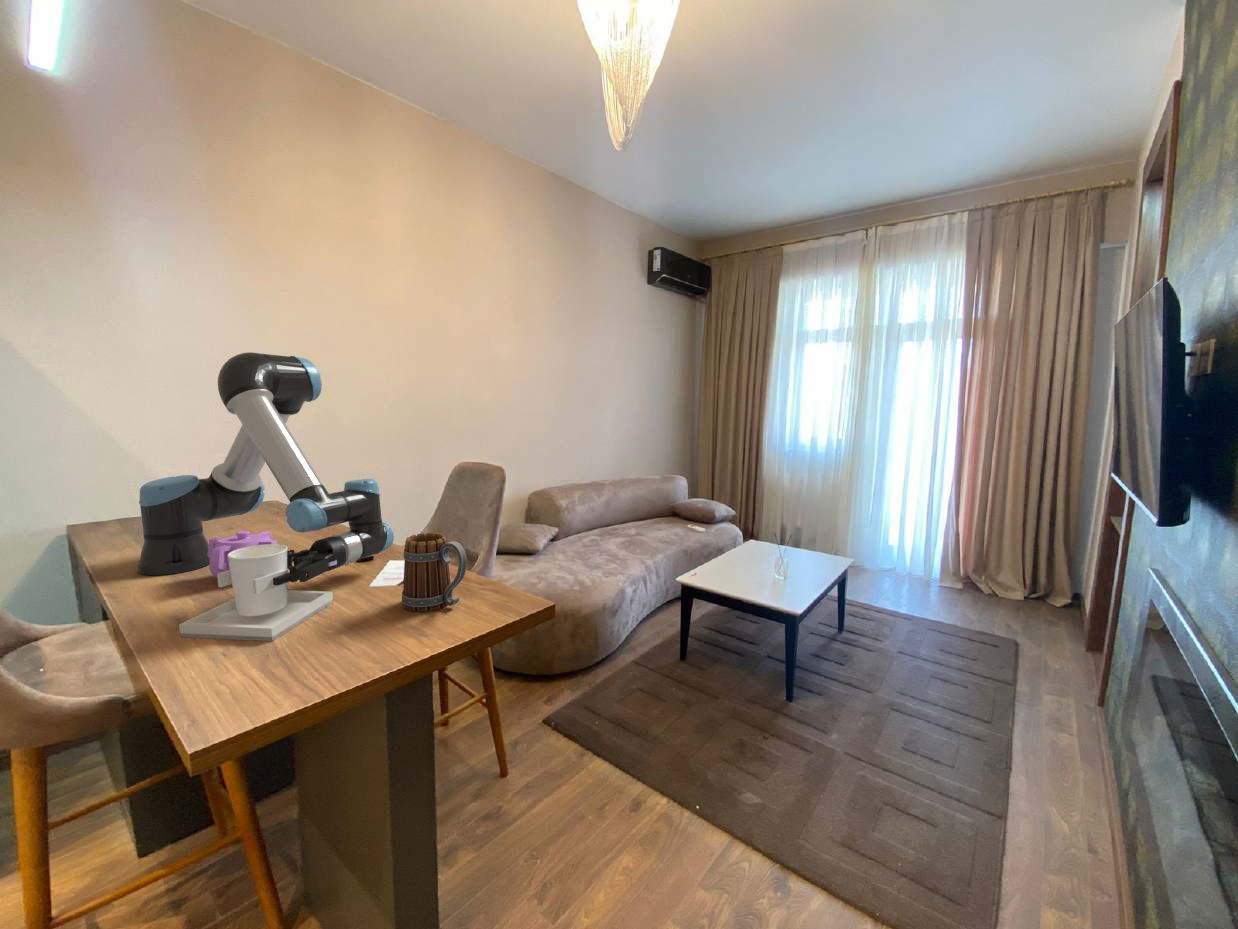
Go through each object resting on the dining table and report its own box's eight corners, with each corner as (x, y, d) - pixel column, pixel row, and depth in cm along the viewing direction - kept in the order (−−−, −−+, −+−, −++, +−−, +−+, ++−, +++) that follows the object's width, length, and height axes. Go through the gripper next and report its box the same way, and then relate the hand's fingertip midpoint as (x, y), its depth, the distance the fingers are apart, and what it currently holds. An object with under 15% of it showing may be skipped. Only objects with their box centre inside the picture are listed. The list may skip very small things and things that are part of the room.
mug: (391, 608, 108) (388, 540, 106) (426, 591, 118) (424, 529, 116) (448, 621, 102) (446, 549, 100) (481, 602, 112) (479, 537, 110)
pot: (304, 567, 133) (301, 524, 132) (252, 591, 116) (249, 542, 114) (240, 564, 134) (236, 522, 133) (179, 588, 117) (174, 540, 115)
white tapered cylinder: (245, 622, 95) (240, 561, 93) (223, 610, 100) (218, 552, 98) (300, 605, 103) (297, 549, 102) (277, 595, 108) (273, 541, 107)
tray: (180, 637, 93) (179, 624, 93) (255, 599, 111) (254, 588, 111) (272, 641, 92) (271, 628, 92) (333, 602, 110) (332, 591, 110)
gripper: (372, 572, 115) (279, 610, 94) (301, 561, 122) (199, 594, 100) (371, 540, 114) (276, 571, 93) (299, 531, 121) (196, 558, 99)
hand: (236, 583), depth 97 cm, fingers closed on white tapered cylinder, 9 cm apart
